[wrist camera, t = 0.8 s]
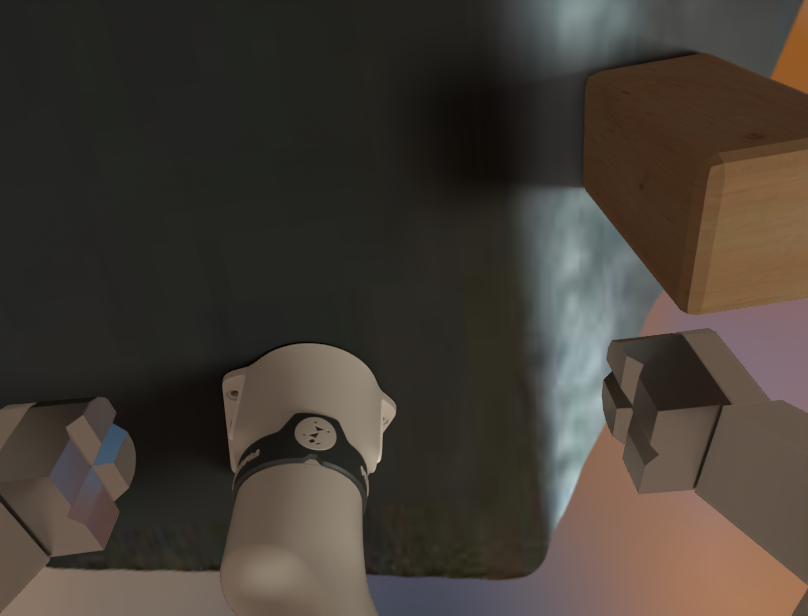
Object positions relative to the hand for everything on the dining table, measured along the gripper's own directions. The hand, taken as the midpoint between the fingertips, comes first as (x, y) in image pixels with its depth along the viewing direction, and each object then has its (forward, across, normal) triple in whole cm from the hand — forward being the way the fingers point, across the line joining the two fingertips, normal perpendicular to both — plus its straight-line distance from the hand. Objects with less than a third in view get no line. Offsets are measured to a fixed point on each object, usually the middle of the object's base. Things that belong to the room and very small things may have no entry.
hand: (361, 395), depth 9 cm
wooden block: (+39, +21, -11) cm, 46 cm away
